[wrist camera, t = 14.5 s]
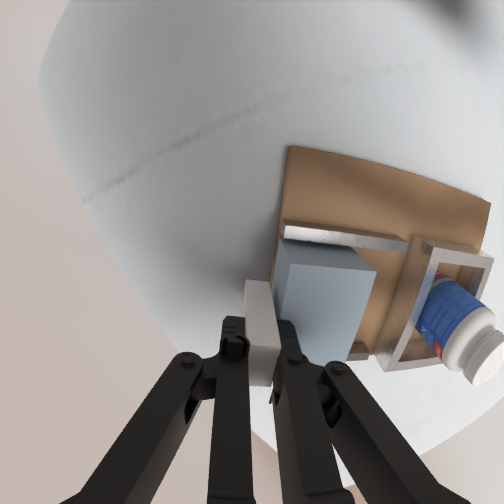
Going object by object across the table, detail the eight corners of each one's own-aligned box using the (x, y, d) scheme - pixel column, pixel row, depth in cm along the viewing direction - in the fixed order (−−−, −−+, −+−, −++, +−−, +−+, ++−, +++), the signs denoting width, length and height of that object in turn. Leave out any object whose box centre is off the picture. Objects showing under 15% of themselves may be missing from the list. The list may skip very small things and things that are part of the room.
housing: (279, 237, 18) (290, 263, 13) (349, 245, 18) (376, 271, 14) (262, 336, 20) (267, 377, 16) (323, 338, 21) (338, 376, 16)
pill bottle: (393, 312, 20) (453, 390, 11) (429, 260, 19) (508, 320, 10) (424, 330, 21) (477, 397, 12) (457, 285, 20) (521, 341, 11)
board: (289, 146, 17) (292, 145, 16) (482, 200, 18) (491, 203, 17) (258, 345, 22) (259, 354, 21) (435, 341, 24) (440, 347, 22)
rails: (281, 219, 17) (285, 225, 16) (398, 235, 18) (409, 242, 16) (260, 347, 21) (261, 360, 19) (360, 348, 21) (367, 359, 20)
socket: (411, 234, 18) (433, 247, 15) (473, 246, 19) (494, 258, 16) (371, 350, 22) (383, 372, 19) (435, 345, 22) (448, 362, 19)
